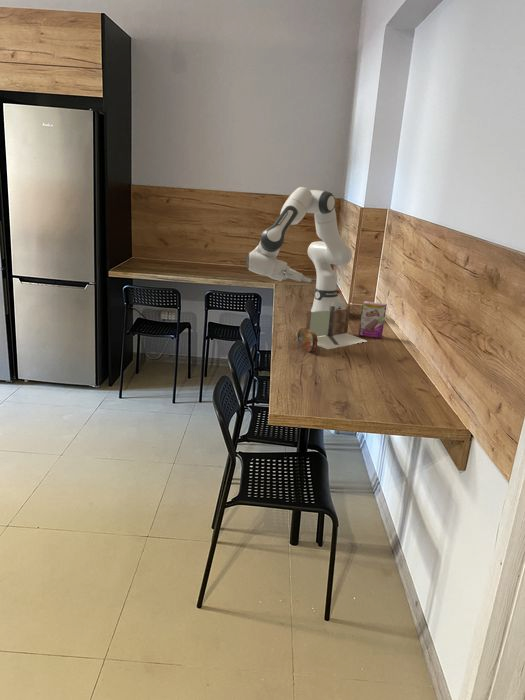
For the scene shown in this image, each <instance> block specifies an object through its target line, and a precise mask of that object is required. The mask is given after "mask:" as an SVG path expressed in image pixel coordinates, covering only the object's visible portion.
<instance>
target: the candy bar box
mask: <svg viewBox="0 0 525 700" xmlns="http://www.w3.org/2000/svg"><path fill="white" fill-rule="evenodd" d="M387 305H388V304H387V303H382V302H381V303H380V302H374V301H367V300H363V303H362V307H361V314H360V322H359V328H358V336H359V335H361V337H366V336H368V338H373V337H374V339H382V338H383V332H384V325H385V319H386V313H387V312H386V311H387V308H388V307H387Z"/></svg>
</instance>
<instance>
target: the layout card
mask: <svg viewBox="0 0 525 700" xmlns="http://www.w3.org/2000/svg"><path fill="white" fill-rule="evenodd" d="M317 339H318V342H317V347H319V348H323V349H325V350H332V349H337V348H338V347H339V348H343V347H344V348H345V347H348V345H349V346H353V344H354V345H358V344H357V343H359V344H362V342H364V343H368V340H366V339H364V338H361V337H358V336H356V335H353V334H350V333H348V332H347V333H342V334H336V335H332V336H328V335H324V336H319V337H317ZM339 348H338V349H339Z"/></svg>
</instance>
